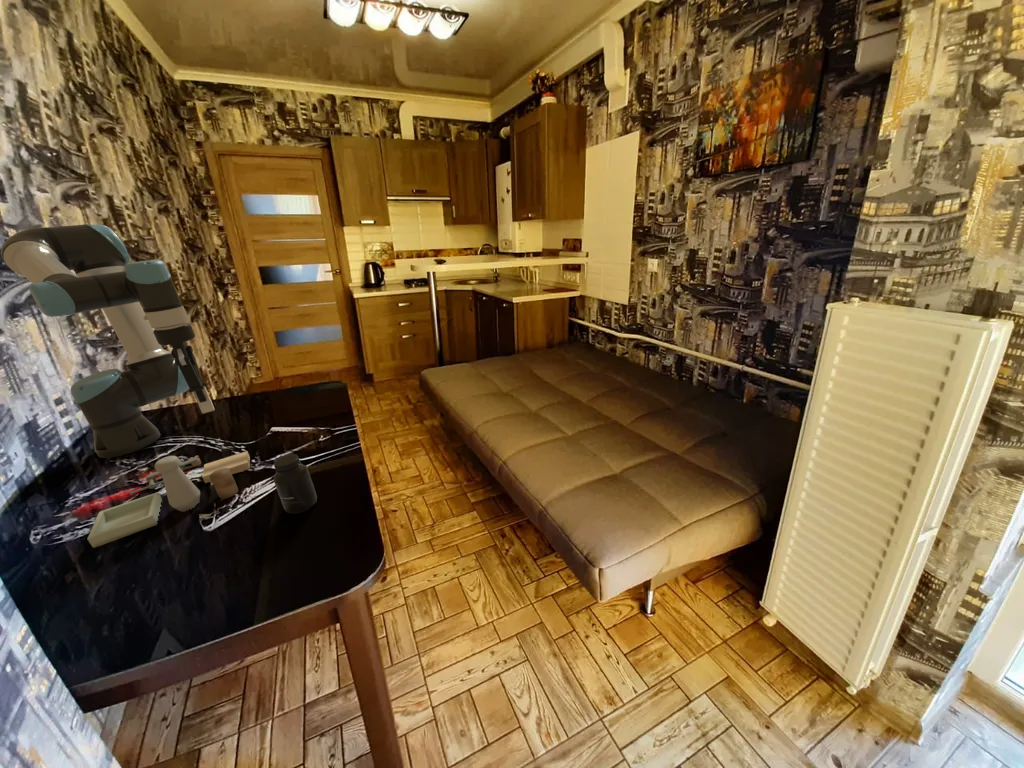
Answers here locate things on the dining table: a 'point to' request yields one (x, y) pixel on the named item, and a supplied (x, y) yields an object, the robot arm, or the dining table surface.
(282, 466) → the supplement bottle
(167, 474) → the salt shaker
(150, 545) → the dining table surface
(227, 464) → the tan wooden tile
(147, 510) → the tray
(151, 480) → the clamp
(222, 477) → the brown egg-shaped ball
